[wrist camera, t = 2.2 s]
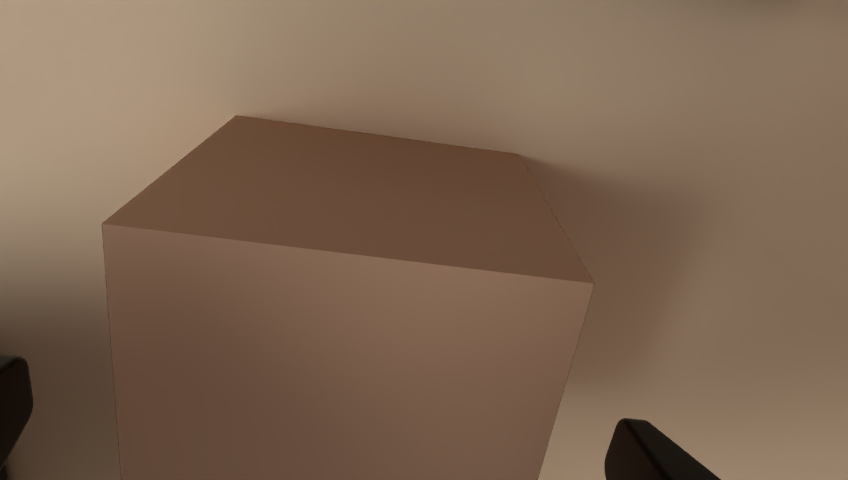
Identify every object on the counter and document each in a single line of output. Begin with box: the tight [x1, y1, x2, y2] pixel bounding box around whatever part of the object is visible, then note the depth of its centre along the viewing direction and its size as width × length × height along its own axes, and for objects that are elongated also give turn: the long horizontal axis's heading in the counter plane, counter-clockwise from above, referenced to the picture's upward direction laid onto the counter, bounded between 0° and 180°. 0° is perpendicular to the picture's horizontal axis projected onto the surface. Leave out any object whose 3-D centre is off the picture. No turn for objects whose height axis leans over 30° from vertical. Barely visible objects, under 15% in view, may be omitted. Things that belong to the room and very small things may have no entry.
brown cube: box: [102, 116, 595, 480], centre depth 11 cm, size 6×6×6 cm
